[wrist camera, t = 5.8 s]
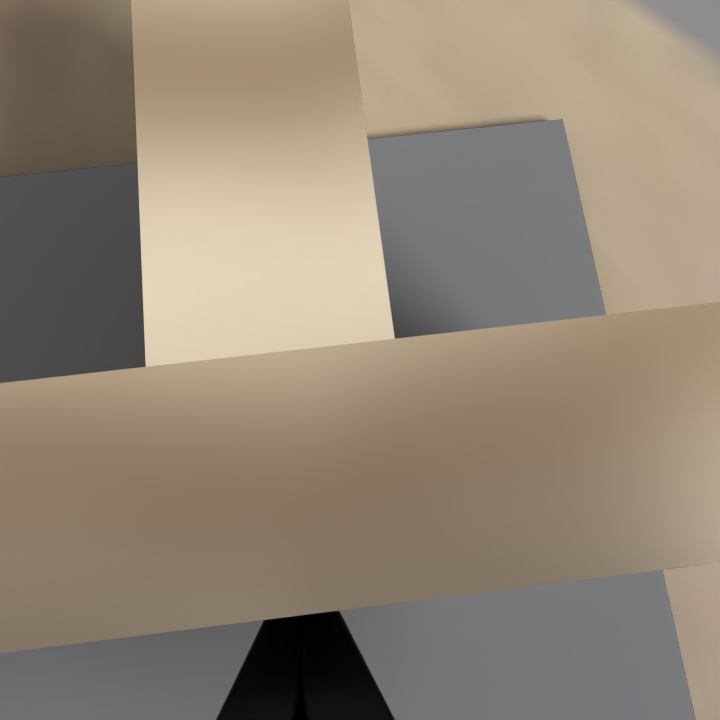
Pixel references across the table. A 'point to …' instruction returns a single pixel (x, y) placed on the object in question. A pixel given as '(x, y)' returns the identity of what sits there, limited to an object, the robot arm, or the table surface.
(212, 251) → the t block
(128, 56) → the table surface
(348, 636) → the robot arm
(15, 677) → the mat
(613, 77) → the table surface
